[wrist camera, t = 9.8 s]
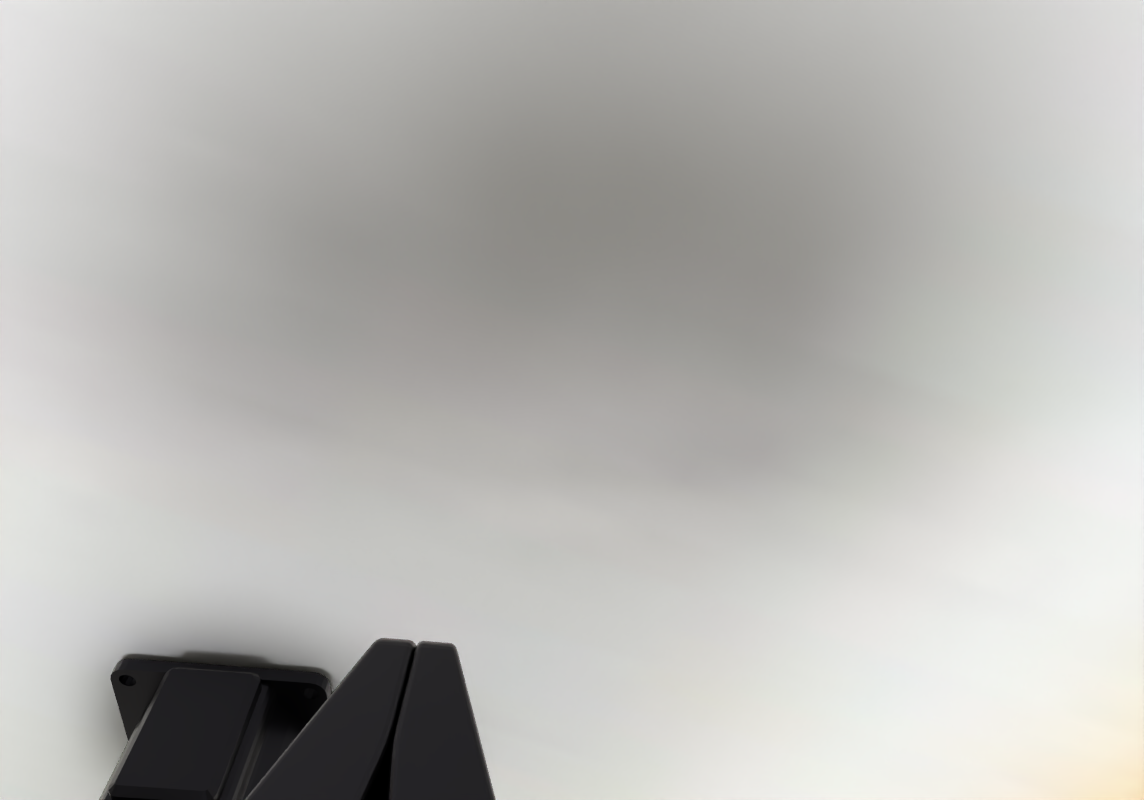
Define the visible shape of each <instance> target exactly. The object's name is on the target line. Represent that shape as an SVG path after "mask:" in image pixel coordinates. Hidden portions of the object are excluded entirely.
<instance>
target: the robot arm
mask: <svg viewBox="0 0 1144 800" xmlns="http://www.w3.org/2000/svg"><path fill="white" fill-rule="evenodd" d="M111 682H112V686H113V689H114V693H115V696H116V700H117V703H118V706H119V710H120V713H121V717H122V720H123V724H124V727H125V731H126V734H127V737H128V743H127V745H126V747H125V749H124V751H123V753H122V755H121V757H120V759H119V761H118V763H117V765H116V767H115V769H114V771H113V773H112V775H111V777H110V779H109V781H108V783H107V785H106V787H105V789H104V791H103V793H102V795H101V797H100V799H99V800H496V799H495V796H494V792H493V788H492V784H491V780H490V776H489V772H488V768H487V765H486V761H485V757H484V753H483V749H482V745H481V741H480V737H479V733H478V730H477V726H476V722H475V718H474V714H473V710H472V706H471V702H470V698H469V695H468V691H467V687H466V683H465V679H464V675H463V671H462V667H461V664H460V660H459V656H458V652H457V649H456V647H455V646H454V645H453V644H451V643H442V642H429V641H422V642H420V643H418V645H417V646H416V645H415V643H414V642H413V641H411V640H402V639H389V638H381V639H378V640H376V641H375V642H374V643H373V644H372V645H371V646H370V648H369V649H368V650H367V651H366V652H365V654H364V655H363V656H362V657H361V659H360V660H359V661H358V662H357V663H356V665H355V666H354V667H353V668H352V670H351V671H350V672H349V673H348V674H347V676H346V677H345V678H344V679H343V681H342V682H341V683H340V684H339V685H338V687H337V688H336V689H335V690H334V692H333V693H332V694H331V689H330V683H329V680H328V679H327V678H326V677H325V676H323V675H321V674H319V673H314V672H302V671H288V670H274V669H261V668H247V667H234V666H220V665H206V664H193V663H179V662H165V661H152V660H138V659H124V660H121V661H119V662H118V664H117V665H116V667H115V668H114V670H113V672H112V674H111Z"/></svg>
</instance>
